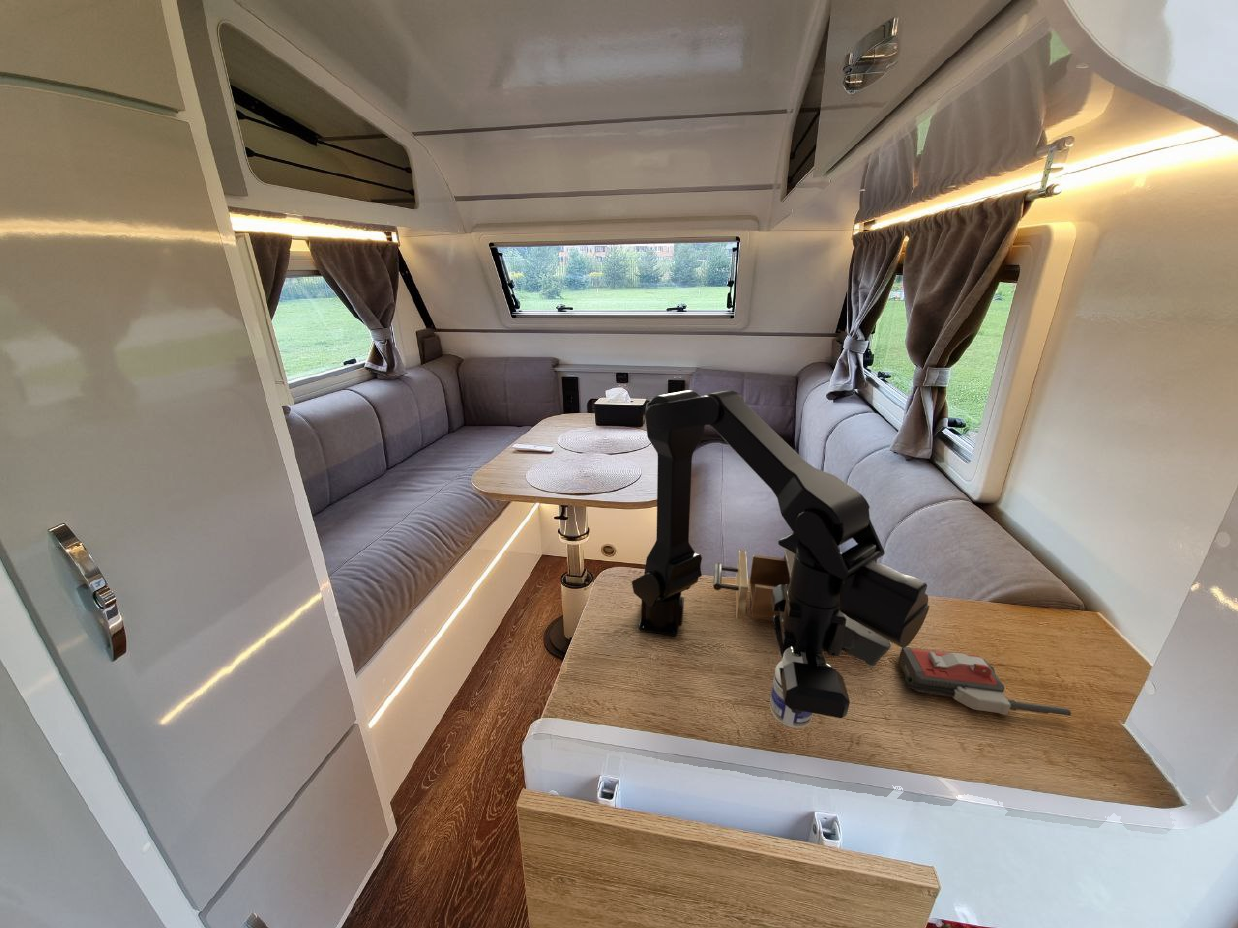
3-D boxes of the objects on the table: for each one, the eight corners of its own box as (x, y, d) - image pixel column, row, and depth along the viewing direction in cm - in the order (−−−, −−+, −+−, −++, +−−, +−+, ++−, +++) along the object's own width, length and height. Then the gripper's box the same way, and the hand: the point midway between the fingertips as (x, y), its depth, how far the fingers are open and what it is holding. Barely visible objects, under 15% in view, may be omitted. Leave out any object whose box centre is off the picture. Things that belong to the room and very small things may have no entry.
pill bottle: (813, 702, 62) (825, 650, 59) (810, 735, 58) (823, 681, 55) (771, 689, 64) (781, 637, 61) (766, 719, 60) (776, 666, 57)
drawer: (710, 615, 81) (714, 582, 78) (712, 577, 91) (715, 546, 89) (820, 632, 78) (827, 598, 75) (809, 590, 88) (816, 559, 85)
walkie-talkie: (909, 704, 66) (1072, 726, 63) (917, 680, 64) (1084, 702, 61) (887, 657, 74) (1030, 675, 71) (894, 635, 72) (1040, 652, 69)
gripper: (922, 666, 44) (884, 779, 50) (869, 557, 61) (845, 651, 67) (797, 645, 46) (774, 756, 52) (779, 546, 63) (763, 638, 69)
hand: (793, 693), depth 60 cm, fingers closed on pill bottle, 5 cm apart
